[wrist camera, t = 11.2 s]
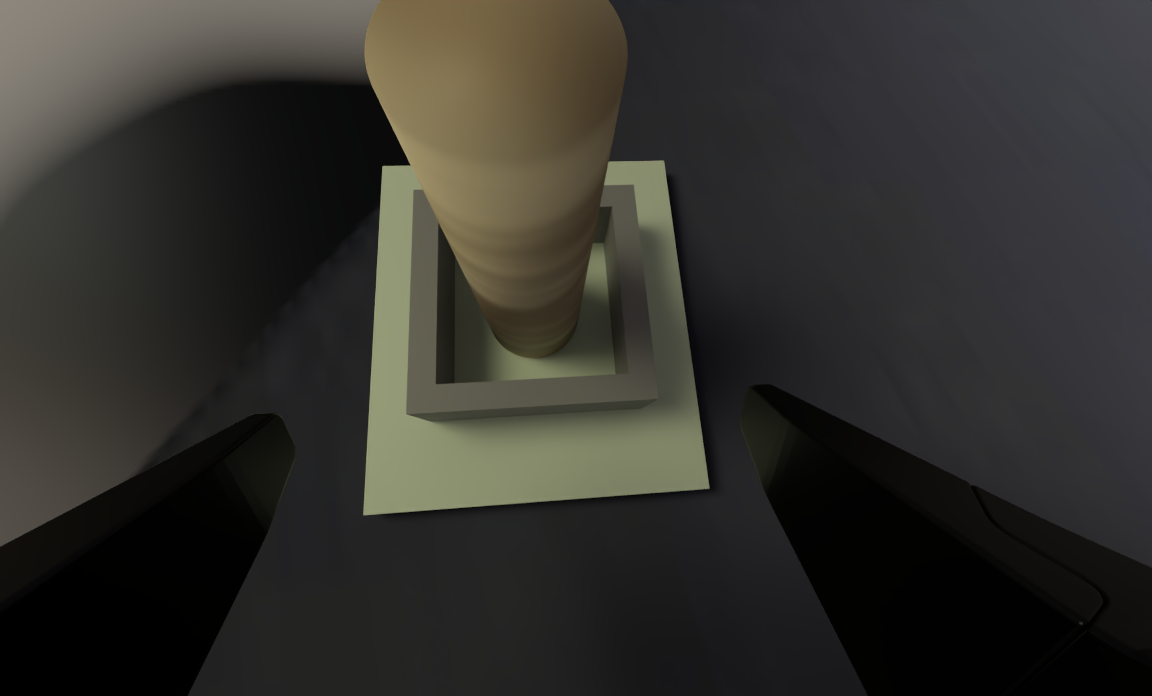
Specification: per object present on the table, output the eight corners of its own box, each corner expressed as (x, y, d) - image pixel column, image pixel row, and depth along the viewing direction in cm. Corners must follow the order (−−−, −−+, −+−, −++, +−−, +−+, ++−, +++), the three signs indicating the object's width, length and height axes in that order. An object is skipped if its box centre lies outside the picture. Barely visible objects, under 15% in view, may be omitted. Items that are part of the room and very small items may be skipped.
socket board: (701, 487, 19) (740, 494, 15) (373, 511, 18) (323, 527, 14) (659, 173, 23) (681, 114, 19) (390, 179, 22) (355, 118, 18)
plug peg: (560, 370, 19) (578, 193, 6) (475, 340, 19) (315, 103, 6) (589, 290, 20) (658, -6, 7) (508, 262, 20) (431, -81, 7)
